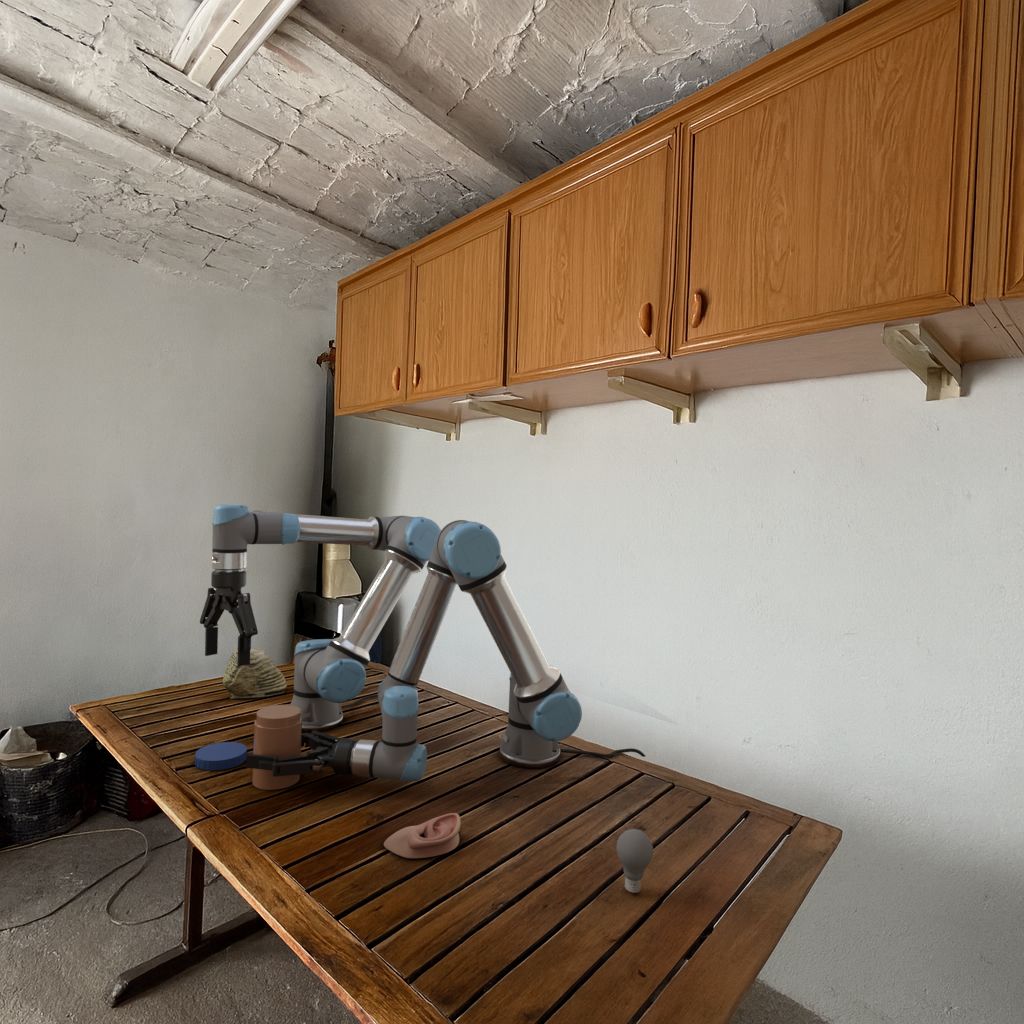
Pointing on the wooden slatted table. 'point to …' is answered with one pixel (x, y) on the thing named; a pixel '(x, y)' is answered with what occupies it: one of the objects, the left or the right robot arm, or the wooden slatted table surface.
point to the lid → (220, 756)
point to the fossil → (253, 676)
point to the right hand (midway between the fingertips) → (262, 748)
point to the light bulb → (634, 857)
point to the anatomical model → (426, 838)
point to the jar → (276, 742)
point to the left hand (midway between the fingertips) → (227, 659)
